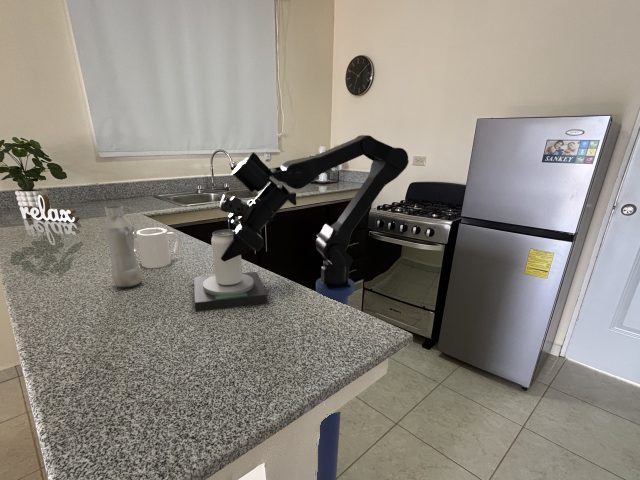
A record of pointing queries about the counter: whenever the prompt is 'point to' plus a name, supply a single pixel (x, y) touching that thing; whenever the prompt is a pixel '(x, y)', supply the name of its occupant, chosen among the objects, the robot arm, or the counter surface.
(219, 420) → the counter surface
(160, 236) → the mug
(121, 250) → the plastic bottle
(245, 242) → the robot arm
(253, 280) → the scale
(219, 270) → the can
